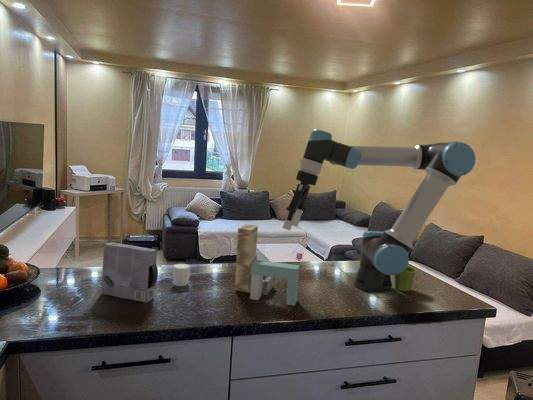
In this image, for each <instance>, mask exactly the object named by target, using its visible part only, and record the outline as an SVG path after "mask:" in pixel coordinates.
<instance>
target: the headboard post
mask: <svg viewBox="0 0 533 400" xmlns="http://www.w3.org/2000/svg"><path fill="white" fill-rule="evenodd" d="M258 229H259V226H258V225H253V224H244V225H242V226H241V227H239V228H237V238H236V241H237V243H236V256H235V257H236V258H235V275H234V279H235V280H234V291H237V292H238V291H239V292H242V293H243V292H244V293H249V294H250V292H251V276H252V263H253V262H254V261H255V260H256V253H257V247H258V245H257V244H258ZM273 286H274V277H267V276H263V283H262V296H264V295H265V296H268V295H269V293H270V292H271V290H272V288H273Z"/></svg>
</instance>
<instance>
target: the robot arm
mask: <svg viewBox="0 0 533 400" xmlns="http://www.w3.org/2000/svg"><path fill="white" fill-rule="evenodd" d="M332 139H333V135H332V133H331V132H328V131H325V130H321V129H318V128H317V129H313V130H312V131H311V133H310V135H309V139H308V140H307V144H306V146H305V150H304V153H303V156H302V159H301V160H299V163H300V166H299V170H297V174H296V178H295V179H296V181H299V182H300V183H298V184H296V187H295V188H296V189H295V191H294V193H293V194H292V195H293V196H292V198H291V201H290V202H289V205H288V207H286V211H287V213H286V216H285V219H284V223H283V226H282V229H284V230H287V231H289V232H290V231H291V229H292V226H293V227H296V228H297V227H298V226H299V223H300V220H301V216H302V214H303V212H305V211H306V208H305V207H306V203H307V199H308V196H309V192H310V189H311V186H317V185H316V184H317V181H318V179H319V175H320V174H321V170H322V167H323V164H324V161H326V162H329V164H331V165H333V166H340V167H345V168H346V169H351V170H354V169H357V167H358V166H371V167H372V166H375V167H376V166H377V167H378V166H379V167H407V168H408V167H410V168H412V169H414V170H422V171H426V175H425V176H424V178H423V180H422V181H421V183H420V184H419V186H418V188H417V189H416V190H415V192H414V194H413V195H412V196H411V198H410V199H409V201H408V203H407V204H406V205H405V207H404V209H403V210H402V212H401V213H400V214H399V216H398V218H397V219H396V220H395V222H394V223H393V225H392V227H391V228H390V229H386V230H384V231H378V230H377V231H376V230H365V231H364V232H363V234H362V237H361V248H360V249H361V250H360V261H359V262H360V263H359V267H358V269H357V272H356V274H355V275H354V280H353V285H354V287H356V288H357V289H359V290H362V291H365V292H368V293H369V292H370V293H378V294H382V293H383V294H384V293H389V292H391V291H392V290H393V283H392V282H393V281H392V277H391V276H395V275H397V274H399V273H401V272H403V271H404V270H405V269H406V267H407V266H408V265H409V264H410V263H409V261H410V259H409V254H410V253H411V251H412V250H413V248H414V246H413V241H414V239H415V237H416V236H417V234H418V233H419V231H420V230H421V229H422V227H423V226H424V224H425V223H426V222H427V220H428V218H429V217H430V215H431V213H432V212H433V210H434V209H435V208H436V206H437V205H438V203H439V202H440V200H441V199H442V197H443V196H444V194H445V193H446V192H447V190H448V188H449V187H451V186H455V185H456V184H457V183H458V181H459V180H460V178H461V177H462V176H466V175H467V174H469V173H470V172H471V171H473V169H474V167H475V165H476V159H477V158H476V153H475V151H474V149H473V148H472V147H471V146H470V145H469V144H467V143H465V142H462V141H455V140H454V141H450V142H448V141H447V142H437V143H431V144H415V145H414V147H410V146H409V147H407V146H377V145H375V146H373V145H371V146H365V145H348V144H344V143H341V142H338V141H335V140H334V139H333V140H332ZM310 185H311V186H310ZM408 267H409V266H408Z"/></svg>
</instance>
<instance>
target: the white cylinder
mask: <svg viewBox="0 0 533 400" xmlns="http://www.w3.org/2000/svg"><path fill="white" fill-rule="evenodd" d="M171 269H172V284H173V285H174V286H176V287H184V286H187V284H188V285H189V282H190V274H191V265H190V264H188V263H175V264H173V265H172V266H171Z"/></svg>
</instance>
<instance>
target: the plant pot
mask: <svg viewBox="0 0 533 400" xmlns="http://www.w3.org/2000/svg"><path fill="white" fill-rule="evenodd" d="M416 273H418V270H417V269H416V268H414V267H411V266H407V267H406V269H405V270H404V271H403V272H401V273H399V274H397V275H394V289H396V290H398V291H400V292H410V291H411V290H412V287H413V283H414V282H413V281H414V279H415V276H416Z"/></svg>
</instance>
